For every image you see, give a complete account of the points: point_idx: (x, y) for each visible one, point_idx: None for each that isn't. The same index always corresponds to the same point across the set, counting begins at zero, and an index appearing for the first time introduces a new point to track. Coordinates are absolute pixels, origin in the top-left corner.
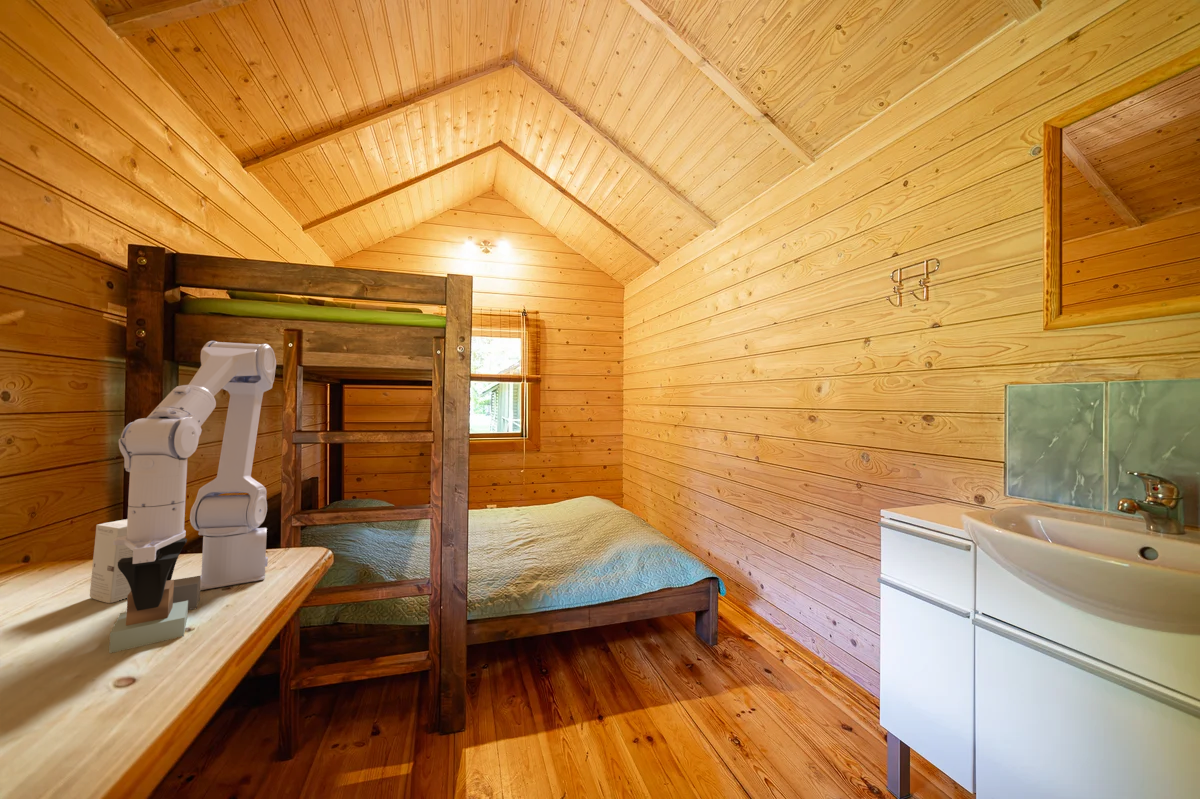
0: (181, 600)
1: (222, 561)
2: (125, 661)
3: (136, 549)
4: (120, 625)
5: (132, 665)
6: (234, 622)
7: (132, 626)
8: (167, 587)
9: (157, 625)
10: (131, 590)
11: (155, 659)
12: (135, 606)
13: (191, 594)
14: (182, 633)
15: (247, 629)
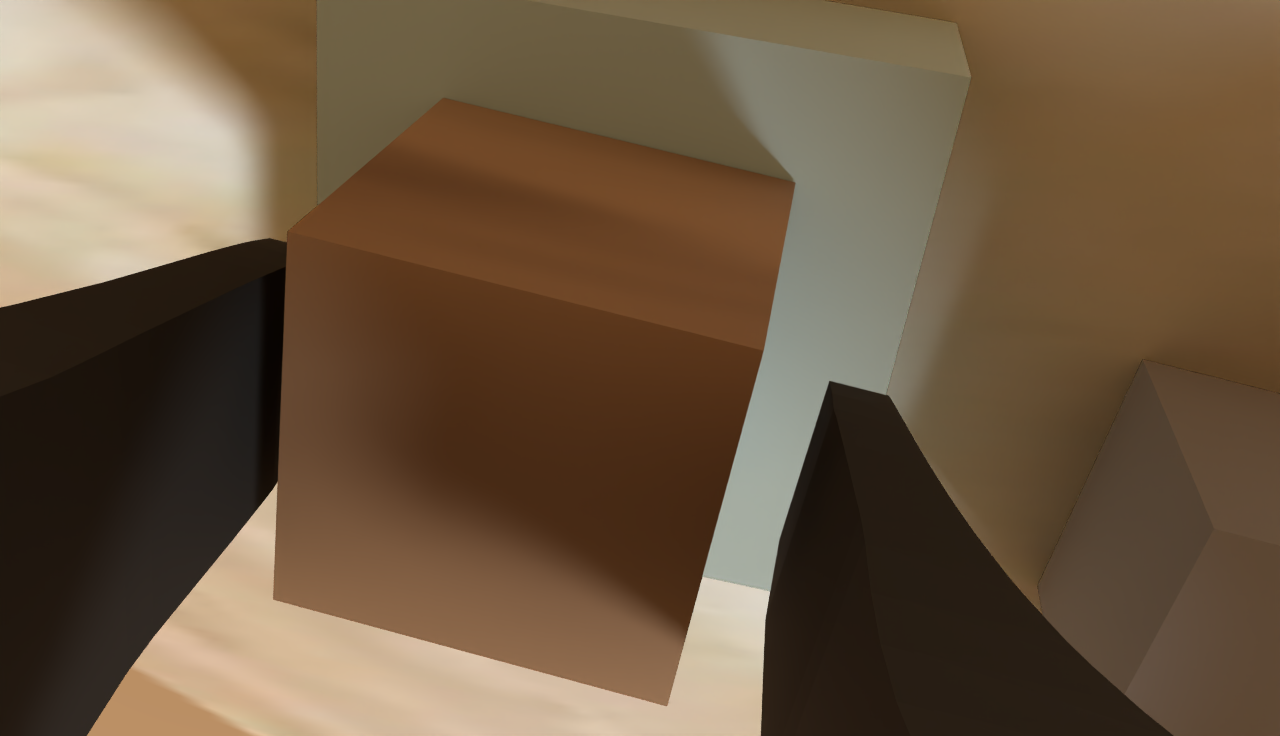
0: (1100, 561)
1: None
2: (123, 27)
3: None
4: (489, 56)
5: (12, 63)
6: (423, 672)
7: (369, 144)
8: (340, 597)
9: None
10: (27, 301)
11: (36, 196)
12: (238, 245)
13: None
14: None
15: (224, 684)
